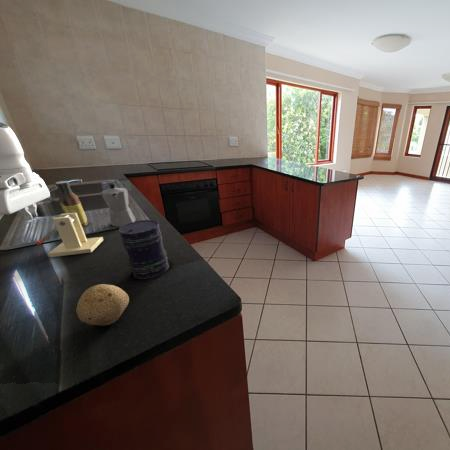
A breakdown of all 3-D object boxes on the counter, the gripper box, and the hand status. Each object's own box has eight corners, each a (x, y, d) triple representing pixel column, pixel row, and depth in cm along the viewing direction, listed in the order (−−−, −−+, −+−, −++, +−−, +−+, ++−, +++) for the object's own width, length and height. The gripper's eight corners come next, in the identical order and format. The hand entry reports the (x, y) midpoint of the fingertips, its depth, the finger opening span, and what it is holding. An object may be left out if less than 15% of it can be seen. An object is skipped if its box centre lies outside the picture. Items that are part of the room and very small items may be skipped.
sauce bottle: (74, 224, 106) (56, 180, 99) (91, 222, 108) (75, 179, 101) (67, 229, 101) (47, 184, 93) (85, 227, 103) (67, 182, 95)
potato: (73, 339, 50) (54, 302, 46) (101, 309, 59) (87, 275, 55) (118, 336, 51) (103, 300, 47) (140, 307, 59) (129, 274, 55)
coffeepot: (137, 225, 106) (125, 185, 99) (111, 230, 101) (97, 188, 94) (135, 214, 118) (124, 179, 110) (111, 218, 113) (99, 181, 105)
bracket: (49, 257, 80) (32, 222, 75) (66, 244, 89) (52, 212, 84) (91, 252, 84) (78, 219, 79) (103, 240, 92) (92, 209, 87)
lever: (40, 246, 81) (32, 242, 79) (49, 240, 85) (42, 235, 84) (69, 223, 80) (62, 218, 79) (77, 217, 85) (70, 213, 84)
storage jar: (151, 259, 80) (140, 218, 74) (176, 263, 78) (166, 221, 72) (124, 276, 71) (109, 231, 65) (151, 281, 69) (138, 235, 63)
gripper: (24, 171, 82) (40, 209, 87) (-31, 185, 64) (-6, 231, 69) (47, 170, 83) (61, 207, 89) (-1, 183, 65) (21, 229, 71)
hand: (32, 218), depth 79 cm, fingers closed
